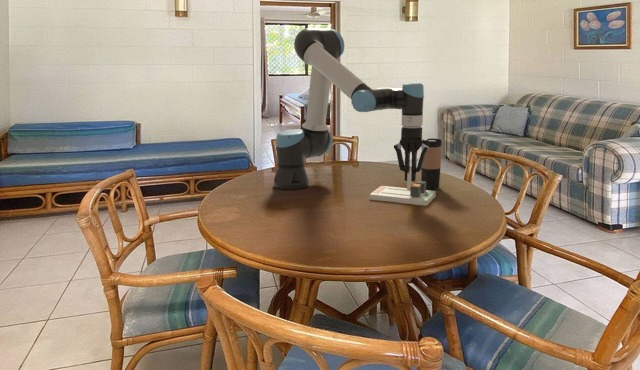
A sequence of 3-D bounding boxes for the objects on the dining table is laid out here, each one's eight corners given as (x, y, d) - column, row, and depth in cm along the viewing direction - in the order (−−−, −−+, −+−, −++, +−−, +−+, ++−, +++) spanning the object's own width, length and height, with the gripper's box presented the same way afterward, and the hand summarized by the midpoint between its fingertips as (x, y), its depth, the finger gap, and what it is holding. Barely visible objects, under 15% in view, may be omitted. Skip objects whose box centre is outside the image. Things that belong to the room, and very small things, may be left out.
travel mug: (439, 190, 197) (442, 141, 192) (420, 189, 198) (422, 141, 194) (439, 185, 204) (441, 138, 199) (420, 185, 206) (422, 138, 201)
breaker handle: (410, 195, 181) (410, 185, 180) (412, 193, 184) (413, 183, 183) (418, 196, 180) (418, 186, 179) (420, 194, 183) (421, 184, 182)
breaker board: (369, 199, 186) (369, 184, 185) (381, 190, 198) (381, 176, 197) (426, 205, 177) (427, 190, 175) (435, 196, 189) (436, 181, 187)
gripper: (391, 127, 176) (389, 190, 182) (427, 128, 170) (424, 193, 176) (397, 124, 182) (396, 185, 188) (432, 126, 177) (429, 188, 183)
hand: (409, 189), depth 182 cm, fingers closed
